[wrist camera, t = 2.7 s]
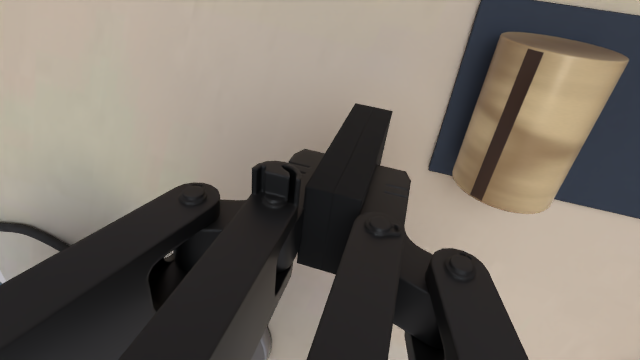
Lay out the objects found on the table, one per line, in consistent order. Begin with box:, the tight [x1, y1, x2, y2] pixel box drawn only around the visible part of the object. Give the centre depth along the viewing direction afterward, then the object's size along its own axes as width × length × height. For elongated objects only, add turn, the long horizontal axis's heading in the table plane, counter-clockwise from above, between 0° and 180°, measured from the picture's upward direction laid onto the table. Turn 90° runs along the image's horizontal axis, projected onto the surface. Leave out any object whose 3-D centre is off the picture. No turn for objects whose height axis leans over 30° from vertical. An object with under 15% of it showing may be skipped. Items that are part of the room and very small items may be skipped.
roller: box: [452, 32, 629, 214], centre depth 20 cm, size 6×8×6 cm
